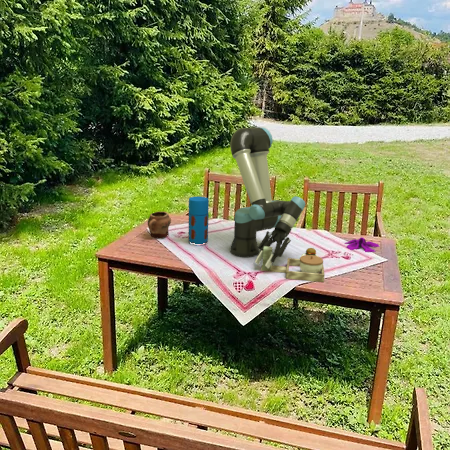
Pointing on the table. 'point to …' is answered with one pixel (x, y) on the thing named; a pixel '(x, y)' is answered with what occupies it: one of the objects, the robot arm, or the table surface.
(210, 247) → the table surface
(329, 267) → the table surface
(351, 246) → the cloth
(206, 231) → the thermos
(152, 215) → the decorative planter
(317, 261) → the lidded jar
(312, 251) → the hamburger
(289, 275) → the pull frame
